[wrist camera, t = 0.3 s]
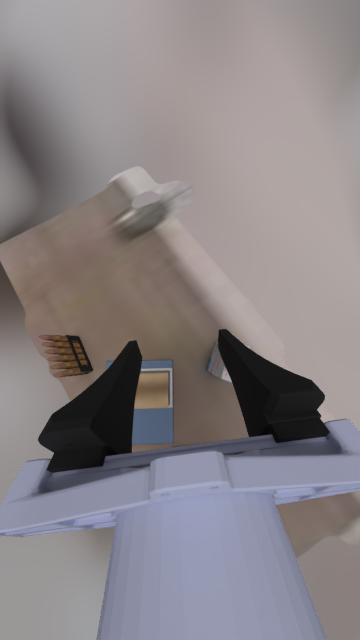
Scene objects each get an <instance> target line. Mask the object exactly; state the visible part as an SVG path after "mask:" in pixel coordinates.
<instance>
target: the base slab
mask: <svg viewBox="0 0 360 640" xmlns="http://www.w3.org/2000/svg"><path fill="white" fill-rule="evenodd" d="M168 406H169V372H140V377H139V381H138V386H137V391H136V397H135V409H146V408H168Z"/></svg>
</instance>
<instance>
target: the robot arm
mask: <svg viewBox="0 0 360 640" xmlns="http://www.w3.org/2000/svg"><path fill="white" fill-rule="evenodd" d="M218 349H219V352H220V355H221V358H222V361H223V363H224V365H225V367H226V370H227V372H228V374H229V376H230V378H231V381H232V383H233V386H234V389H235V392H236V395H237V398H238V401H239V404H240V407H241V411H242V414H243V417H244V421H245V424H246V428H247V432H248V435H249V437H248V438H240V439H233V440H225V441H218V442H210V443H203V444H195V445H188V446H180V447H173V448H165V449H157V450H150V451H142V452H135V453H132V432H133V418H134V406H135V397H136V391H137V386H138V381H139V377H140V372H141V364H142V355H141V353H140V350H139V347H138V344H137V341H129V342H128V344H127V345H126V346H125V348H124V349H123V350H122V352H121V353H120V354H119V356H118V357H117V358H116V359H115V361H114V362H113V363H112V364H111V365H110V367H109V368H108V369H107V370H106V371H105V372H104V373H103V374H102V375H101V376H100V377H99V378H98V379H97V380H96V381H95V382H94V383H93V384H92V385H90V386H89V387H88V388H87V389H86V390H85V391H83V392H82V393H81V394H80V395H78V396H77V397H76V398H75V399H73V400H72V401H71V402H69V403H68V404H66V405H65V406H63V407H62V408H61V409H59V410H58V411H56V412H55V413H53V414H52V415H51V417H50V419H49V420H48V422H47V424H46V426H45V427H44V429H43V431H42V432H41V434H40V436H39V438H38V441H39V443H40V444H41V445H42V446H44V447H46V448H47V449H49V450H51V451H52V452H54V455H53V457H52V459H39V460H31V461H27V462H25V463H24V465H23V467H22V469H21V470H20V472H19V474H18V476H17V478H16V479H15V481H14V483H13V484H12V486H11V488H10V489H9V491H8V493H7V495H6V496H5V498H4V500H3V502H2V503H1V505H0V536H15V537H24V536H32V535H40V534H48V533H57V532H66V531H76V530H87V529H96V528H106V527H115V531H114V538H113V543H112V550H111V555H110V561H109V568H108V574H107V580H106V586H105V592H104V599H103V604H102V610H101V616H100V622H99V628H98V634H97V640H327V637H326V635H325V633H324V630H323V627H322V624H321V622H320V619H319V617H318V614H317V611H316V609H315V606H314V604H313V601H312V598H311V596H310V593H309V590H308V588H307V585H306V583H305V580H304V577H303V575H302V572H301V570H300V567H299V564H298V562H297V559H296V557H295V554H294V551H293V549H292V546H291V543H290V541H289V538H288V536H287V533H286V530H285V528H284V525H283V523H282V520H281V517H280V515H279V512H278V510H277V507H276V505H279V504H285V503H290V502H296V501H302V500H308V499H313V498H319V497H325V496H331V495H337V494H343V493H350V492H357V491H360V431H359V430H358V429H357V428H356V427H355V426H354V425H353V423H352V422H351V421H350V420H349V419H340V420H333V421H328V422H325V423H323V422H322V421H321V419H320V418H321V415H320V413H319V412H318V411H317V409H318V408H319V406H320V405H321V404H322V403H323V401H324V399H325V395H324V394H323V392H322V391H321V390H320V389H319V388H318V387H317V385H315V383H314V382H313V381H312V380H310V379H307V378H305V377H302V376H299V375H297V374H294V373H292V372H290V371H288V370H285V369H283V368H281V367H279V366H277V365H275V364H273V363H271V362H270V361H268V360H266V359H264V358H263V357H261V356H260V355H258V354H256V353H255V352H253V351H252V350H251V349H249V348H248V347H247V346H245V345H244V344H243V343H242V342H240V341H239V340H238V339H237V338H236V337H234V336H233V335H232V334H231V333H230V332H229V331H228V330H226V329H222V330H219V337H218Z"/></svg>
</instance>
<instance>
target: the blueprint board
mask: <svg viewBox="0 0 360 640" xmlns="http://www.w3.org/2000/svg"><path fill="white" fill-rule="evenodd" d="M113 362H114V361H107V363H106V370H107V369H108V368H109V367H110V365H111V364H112V363H113ZM141 372H169V406H168V408H146V409H135V406H134V418H133V432H132V444H163V443H173V364H172V360H148V361H142V364H141Z"/></svg>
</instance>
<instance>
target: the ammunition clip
mask: <svg viewBox="0 0 360 640" xmlns="http://www.w3.org/2000/svg"><path fill="white" fill-rule="evenodd" d="M39 337H40V338H41V339H44V340H49V341H54V342H45V343H42V345H43V346H46V347H53V348H59V349H49V350H46V351H45V353H48V354H56V355H61V356H53V357H50V358H48V359H47V360H49V361H53V362H65V363H59V364H55V365H53V366H51V367H50V368H52V369H68V370H65V371H61V372H58V373H56V374H54V376H55V377H65V376H73V375H74V376H76V375H82V374H88V373H89V372H91V371H93V368H92V366H91V363H90V361H89V359H88V356H87V354H86V352H85V349H84V347H83V345H82V342H81V340H80V338H79V336H69V335H66V336H61V335H41V336H39Z"/></svg>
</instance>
